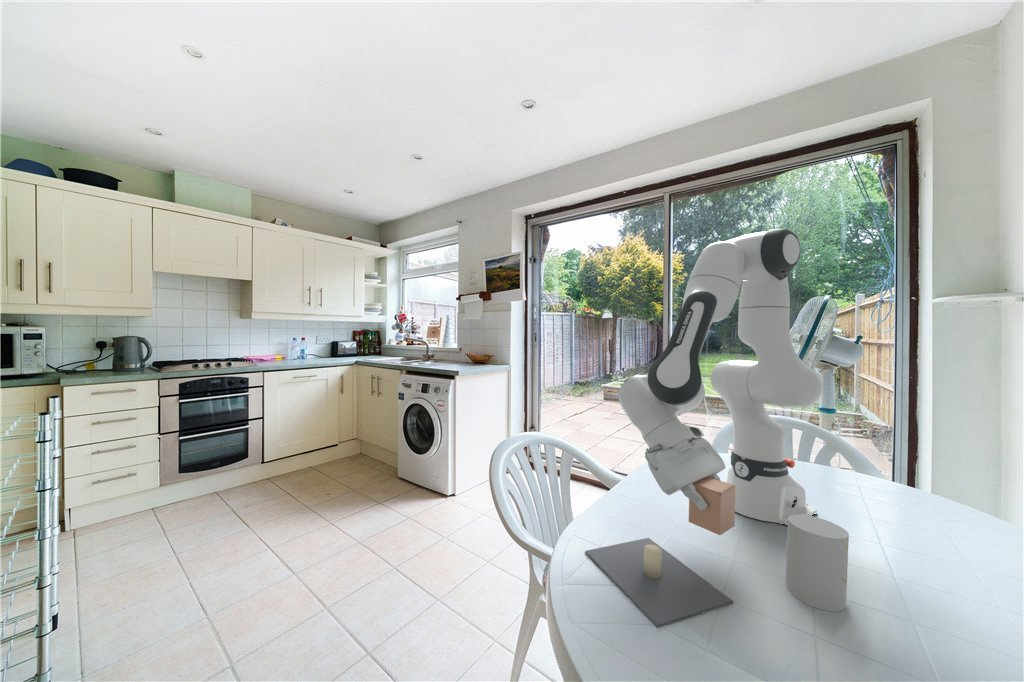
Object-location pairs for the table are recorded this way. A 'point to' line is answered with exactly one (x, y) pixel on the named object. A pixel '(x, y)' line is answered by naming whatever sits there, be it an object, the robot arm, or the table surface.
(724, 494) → the light orange rectangular block
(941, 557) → the table surface
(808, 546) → the white oval cylinder
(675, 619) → the mat
